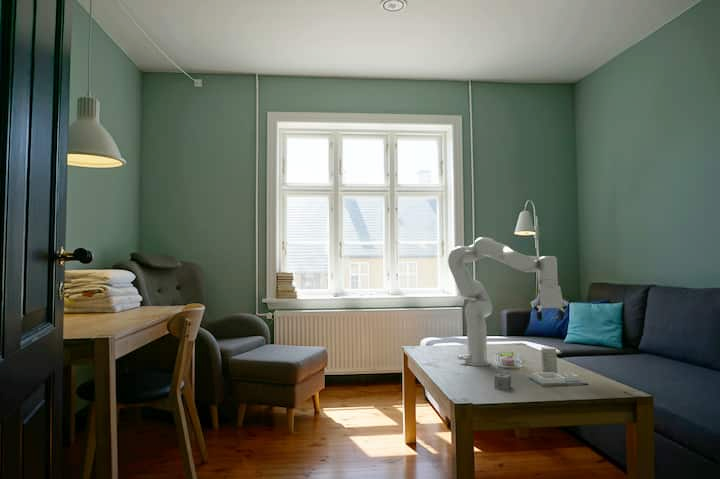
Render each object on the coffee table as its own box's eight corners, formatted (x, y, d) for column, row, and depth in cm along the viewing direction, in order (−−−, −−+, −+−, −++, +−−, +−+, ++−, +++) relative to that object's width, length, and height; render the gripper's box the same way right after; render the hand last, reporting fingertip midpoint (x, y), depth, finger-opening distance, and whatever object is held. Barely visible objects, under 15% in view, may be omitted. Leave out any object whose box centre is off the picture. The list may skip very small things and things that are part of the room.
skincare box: (557, 374, 210) (556, 347, 210) (557, 376, 206) (556, 349, 206) (541, 373, 212) (541, 346, 213) (542, 375, 208) (541, 348, 208)
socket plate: (542, 386, 191) (541, 379, 191) (528, 378, 203) (528, 372, 203) (588, 384, 193) (588, 377, 193) (572, 377, 205) (572, 370, 205)
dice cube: (499, 385, 193) (499, 373, 193) (511, 387, 190) (510, 375, 190) (494, 388, 189) (494, 375, 189) (506, 390, 186) (506, 377, 186)
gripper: (533, 283, 210) (535, 321, 209) (571, 283, 210) (572, 321, 209) (527, 282, 217) (528, 319, 216) (563, 282, 218) (564, 318, 217)
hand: (550, 320), depth 213 cm, fingers open, 9 cm apart
